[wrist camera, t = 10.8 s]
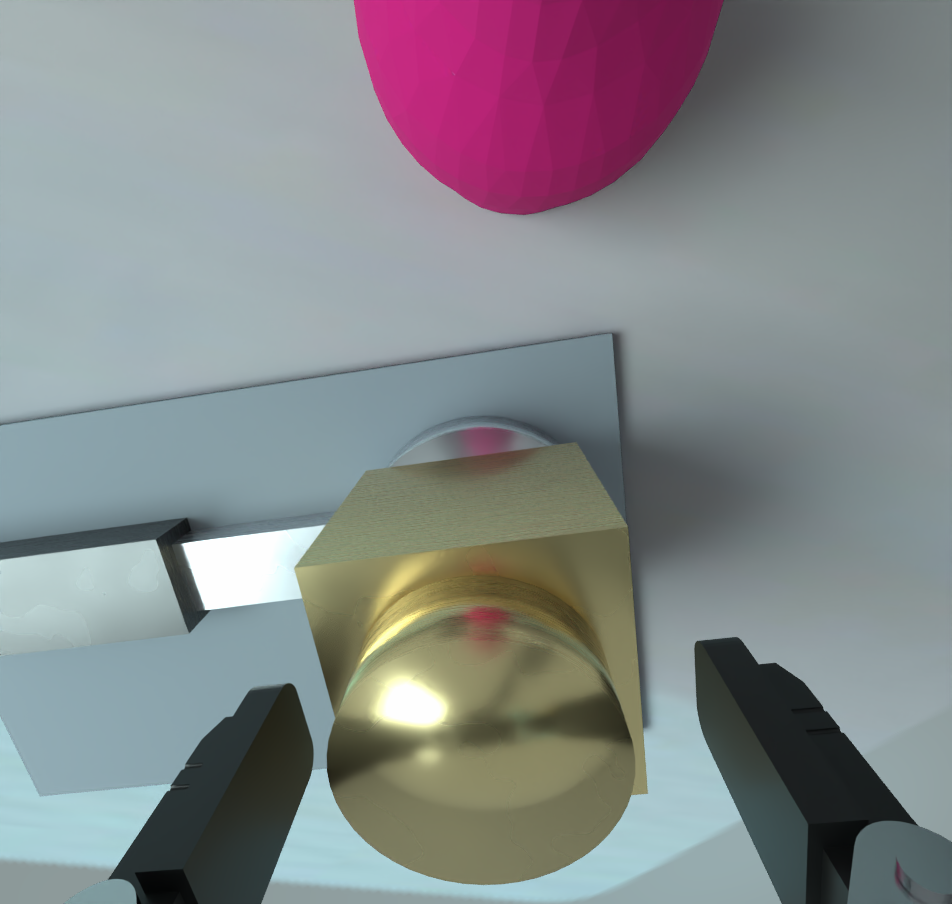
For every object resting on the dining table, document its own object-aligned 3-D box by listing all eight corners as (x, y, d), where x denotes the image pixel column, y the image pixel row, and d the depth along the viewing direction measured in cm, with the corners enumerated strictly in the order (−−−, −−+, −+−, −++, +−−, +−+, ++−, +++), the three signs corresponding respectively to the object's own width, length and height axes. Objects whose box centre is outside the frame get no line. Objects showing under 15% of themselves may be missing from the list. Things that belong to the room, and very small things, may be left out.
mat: (-121, 442, 18) (-134, 446, 18) (609, 332, 17) (612, 333, 16) (47, 787, 23) (39, 796, 22) (640, 729, 21) (642, 737, 21)
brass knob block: (366, 470, 16) (247, 631, 8) (576, 442, 15) (662, 584, 8) (404, 648, 17) (338, 920, 10) (594, 627, 17) (680, 894, 9)
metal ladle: (-70, 493, 19) (-293, 569, 13) (586, 399, 17) (629, 444, 12) (17, 678, 21) (-144, 806, 15) (606, 610, 19) (649, 728, 14)
